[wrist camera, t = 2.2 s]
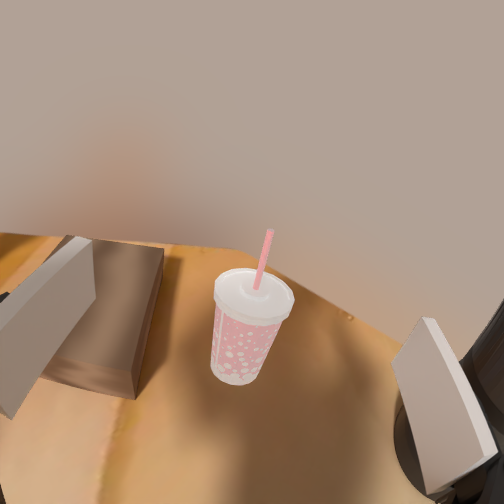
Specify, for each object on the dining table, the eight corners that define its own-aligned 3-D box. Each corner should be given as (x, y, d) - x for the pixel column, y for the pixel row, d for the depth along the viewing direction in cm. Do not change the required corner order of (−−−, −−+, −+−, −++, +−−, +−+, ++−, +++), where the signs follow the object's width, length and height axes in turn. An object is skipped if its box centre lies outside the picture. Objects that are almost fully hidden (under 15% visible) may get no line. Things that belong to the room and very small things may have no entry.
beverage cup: (279, 376, 27) (332, 245, 20) (226, 402, 23) (264, 260, 16) (242, 335, 31) (275, 209, 24) (190, 353, 27) (208, 214, 20)
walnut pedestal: (162, 276, 36) (164, 248, 35) (135, 399, 21) (130, 371, 19) (69, 262, 34) (66, 235, 32) (6, 365, 18) (-9, 334, 17)
